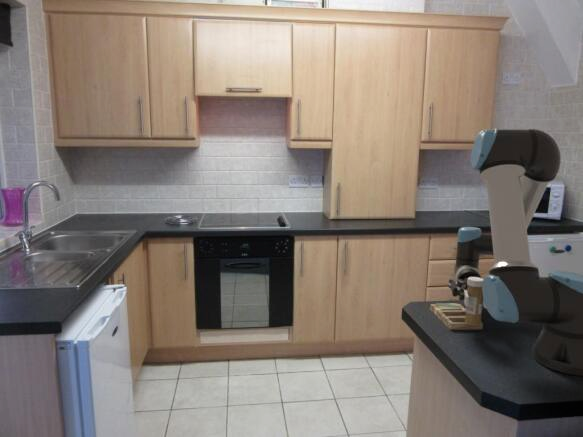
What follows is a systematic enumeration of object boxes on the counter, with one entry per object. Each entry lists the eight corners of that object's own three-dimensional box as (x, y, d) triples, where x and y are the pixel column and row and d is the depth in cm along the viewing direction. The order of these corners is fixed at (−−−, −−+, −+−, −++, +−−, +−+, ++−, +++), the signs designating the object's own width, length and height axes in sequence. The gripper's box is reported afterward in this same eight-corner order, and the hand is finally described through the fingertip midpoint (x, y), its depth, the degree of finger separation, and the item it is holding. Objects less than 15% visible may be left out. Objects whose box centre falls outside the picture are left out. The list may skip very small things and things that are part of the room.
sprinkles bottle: (484, 325, 127) (488, 280, 125) (470, 326, 126) (473, 281, 124) (474, 319, 132) (478, 275, 130) (461, 320, 131) (464, 276, 129)
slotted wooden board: (482, 329, 133) (483, 322, 133) (450, 329, 133) (450, 322, 132) (459, 309, 150) (459, 303, 149) (430, 309, 149) (430, 303, 149)
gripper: (496, 293, 143) (509, 319, 121) (440, 287, 148) (442, 311, 126) (498, 270, 142) (512, 292, 120) (442, 266, 147) (444, 286, 125)
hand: (476, 302), depth 123 cm, fingers closed on sprinkles bottle, 4 cm apart
